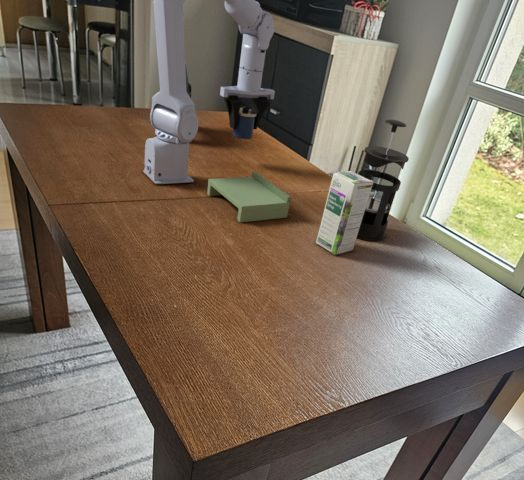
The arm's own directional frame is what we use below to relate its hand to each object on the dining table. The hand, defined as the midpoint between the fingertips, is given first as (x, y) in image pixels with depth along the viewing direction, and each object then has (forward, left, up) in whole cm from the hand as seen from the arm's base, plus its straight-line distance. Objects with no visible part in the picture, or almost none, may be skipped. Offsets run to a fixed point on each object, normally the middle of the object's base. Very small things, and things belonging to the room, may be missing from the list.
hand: (243, 128), depth 129 cm
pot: (0, 0, -2) cm, 2 cm away
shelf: (-13, -26, -9) cm, 30 cm away
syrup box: (-5, -48, -9) cm, 49 cm away
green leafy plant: (-6, +26, -9) cm, 28 cm away
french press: (+7, -43, -9) cm, 44 cm away
